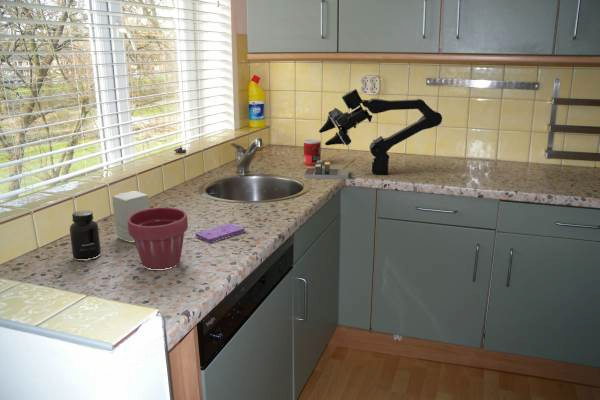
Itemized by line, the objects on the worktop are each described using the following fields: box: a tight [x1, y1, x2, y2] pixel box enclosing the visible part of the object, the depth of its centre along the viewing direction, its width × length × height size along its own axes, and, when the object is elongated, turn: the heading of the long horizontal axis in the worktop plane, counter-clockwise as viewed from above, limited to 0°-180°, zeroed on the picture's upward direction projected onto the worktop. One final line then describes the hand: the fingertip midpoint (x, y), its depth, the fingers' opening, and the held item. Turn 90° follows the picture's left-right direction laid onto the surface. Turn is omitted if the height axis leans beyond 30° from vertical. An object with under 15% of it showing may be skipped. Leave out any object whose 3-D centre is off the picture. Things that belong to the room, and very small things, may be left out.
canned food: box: [303, 138, 322, 167], centre depth 233 cm, size 8×8×11 cm
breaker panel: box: [304, 159, 350, 180], centre depth 214 cm, size 18×11×5 cm, turn 83°
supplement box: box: [111, 190, 150, 241], centre depth 144 cm, size 7×7×13 cm
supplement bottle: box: [69, 210, 102, 259], centre depth 131 cm, size 7×7×12 cm
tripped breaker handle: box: [324, 161, 331, 172], centre depth 214 cm, size 2×2×4 cm
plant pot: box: [128, 206, 189, 269], centre depth 126 cm, size 14×14×13 cm
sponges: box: [195, 223, 245, 243], centre depth 148 cm, size 7×13×2 cm, turn 135°
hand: (322, 138), depth 214 cm, fingers open, 9 cm apart
